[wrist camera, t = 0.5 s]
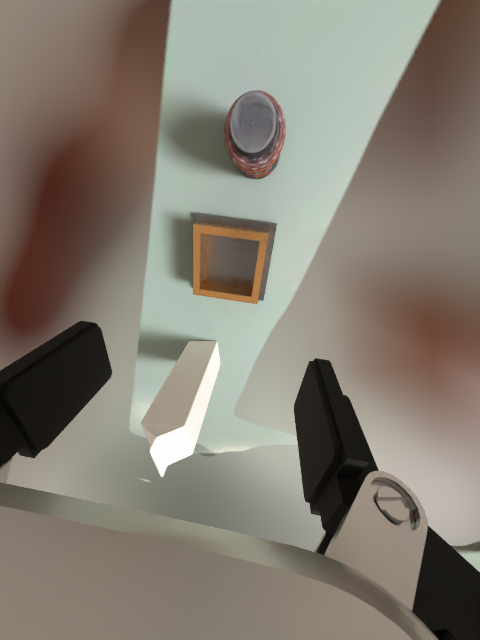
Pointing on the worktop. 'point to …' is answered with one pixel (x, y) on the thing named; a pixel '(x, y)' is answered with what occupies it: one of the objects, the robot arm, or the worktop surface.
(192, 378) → the milk
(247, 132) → the supplement bottle
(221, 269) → the square wooden tray
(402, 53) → the worktop surface
